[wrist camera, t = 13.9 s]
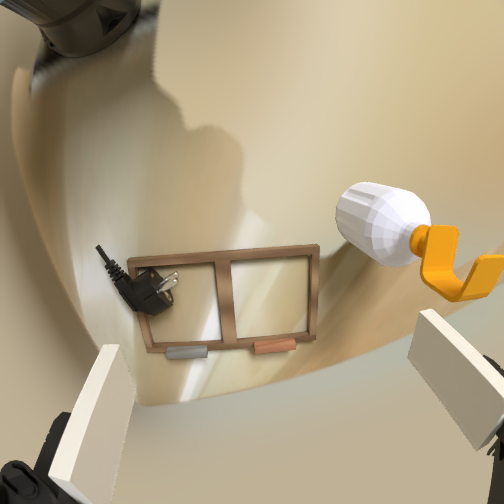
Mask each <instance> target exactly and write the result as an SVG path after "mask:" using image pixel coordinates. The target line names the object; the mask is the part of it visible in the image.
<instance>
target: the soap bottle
mask: <svg viewBox="0 0 504 504" xmlns="http://www.w3.org/2000/svg"><path fill="white" fill-rule="evenodd" d="M336 223H337V226H338V230H339V231H340V233H341V234H342V236H343V237H344V238H345V239H346V240H348V241H349V242H350V243H352V244H353V245H355V246H356V247H357V248H359V249H360V250H362V251H363V252H364V253H366V254H367V255H368V256H370V257H371V258H372V259H374V260H375V261H377V262H378V263H380V264H381V265H382V266H388V267H401V266H405V265H408V264H410V263H411V262H413V261H414V260H416V259H417V258H418V257H421V258H422V262H421V267H420V275H421V279H422V281H423V282H424V283H425V284H426V285H427V286H429V287H430V288H431V289H433V290H434V291H436V292H437V293H438V294H440V295H441V296H442V297H444V298H445V299H446V300H448V301H450V302H460V301H466V300H472V299H479V298H483V297H486V296H488V295H489V293H490V292H491V291H492V289H493V287H494V286H495V284H496V282H497V280H498V278H499V276H500V274H501V272H502V270H503V268H504V255H482V256H480V257H478V259H477V260H476V261H475V263H474V265H473V267H472V269H471V271H470V273H469V275H468V277H467V279H466V281H465V283H463V282H462V281H460V280H459V279H457V278H456V277H455V275H454V273H453V271H452V270H453V263H454V259H455V253H456V248H457V242H458V237H459V232H458V229H457V228H456V227H455V226H446V225H431V222H430V214H429V212H428V210H427V208H426V206H425V204H424V203H423V202H422V201H421V200H420V199H419V198H418V197H417V196H416V195H415V194H414V193H412V192H409V191H406V190H403V189H398V188H394V187H389V186H385V185H381V184H376V183H371V182H362V183H356V184H355V185H353V186H351V187H349V188H348V189H347V190H346V191H345V192H344V193H343V195H342V196H341V197H340V200H339V202H338V204H337V207H336Z"/></svg>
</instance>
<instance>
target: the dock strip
mask: <svg viewBox="0 0 504 504" xmlns="http://www.w3.org/2000/svg"><path fill="white" fill-rule="evenodd" d="M307 254H310V285H309V315H308V331H307V332H299V333H290V334H281V335H272V336H262V337H251V338H239V339H237V336H236V325H235V313H234V302H233V289H232V277H231V264H230V260H242V259H255V258H268V257H281V256H294V255H307ZM319 254H320V246H319V245H318V244H309V245H296V246H282V247H268V248H254V249H241V250H227V251H214V252H200V253H187V254H174V255H160V256H147V257H134V258H129V259H128V260H127V265H128V271H129V276H130V278H131V279H135V278H136V277H138V276H139V273H138V267H145V266H159V265H173V264H187V263H201V262H215V268H216V279H217V289H218V298H219V308H220V317H221V326H222V334H223V340H211V341H192V342H165V343H154V342H153V338H152V334H151V330H150V326H149V322H148V317H147V313H143V312H139V311H138V312H137V313H138V318H139V322H140V326H141V330H142V334H143V338H144V341H145V345H146V349H147V352H166V356H167V359H186V358H207V355H208V350H223V349H237V348H249V347H254V348H255V354H261V353H271V352H280V351H288V350H296V342H304V341H312V340H316V327H317V309H318V287H319Z"/></svg>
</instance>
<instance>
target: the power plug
mask: <svg viewBox="0 0 504 504" xmlns="http://www.w3.org/2000/svg"><path fill="white" fill-rule="evenodd" d="M95 248H96V249H97V251H98V252H99V254H100V255H101V257H102V258H103V259H104V261H105V262H106V265H105V268H106V270H108V269H109V271H108V274H110V278H111V277H113V278H112V281H115V282H114V285H115V286H116V288H117V289H118V290H119V293H120V295H121V296H122V297H123V299H124V300H125V301H126V302H127V304H128V305H129V306H130V307H131V309H132V310H133V311H135V312H138V311H139V312H143V313H147V314H151V315H153V316H156V315H158V314H159V313H161V312H163V311H164V310H166V309H168V308H169V307H171V306H172V305H173V304H172V303H173V297H172V294H171V291H170V288H171V287H173V286H174V285H176V284H177V283H178V280H177V279H176V278H177V277H178V276H179V273H178V272H177V271H176V272H174V273H172V274H171V275H169V276H168V277H166V278H164V279H163V278H162V277H160V275H159V274H158V272H157V271H155V270H154V269H152V268H150V269H148V270H147V271H145V272H144V273H142V274H141V275H139V276H138V277H136V278H135V279H131V278H130V277H129V275H128V274H127V273H126V272H125V273H123V272H124V270H121V267H118V264H116V265H114V264H115V263H116V262H115V261H114V260H111V261H110V259H109V258H108V257H107V255H106V254H105V252H104V251H103V249H102V248H101V246H100V245H98V246H97V247H95ZM120 270H121V271H120Z"/></svg>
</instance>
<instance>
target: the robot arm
mask: <svg viewBox="0 0 504 504" xmlns="http://www.w3.org/2000/svg"><path fill="white" fill-rule="evenodd" d="M140 4H141V0H0V5H2V6H4V7H6V8H8V9H9V10H12V11H13V12H15V13H17V14H19V15H20V16H22V17H24V18H26V19H27V20H29V21H31V22H32V23H34V24H36V25H37V26H38V28H39V30H40V32H41V34H42V36H43V39H44V41H45V42H46V44H47V45H48V46H49V47H50V48H51V49H52V50H53V51H55V52H57V53H59V54H61V55H63V56H66V57H82V56H86V55H90V54H92V53H95V52H97V51H99V50H101V49H103V48H105V47H106V46H108V45H109V44H111V43H112V42H114V41H115V40H116V39H117V38H119V37H120V36H121V35H122V34H123V33H124V32H125V31H126V30H127V28H128V27H129V26H130V25H131V23H132V22H133V20H134V19H135V17H136V15H137V13H138V11H139V8H140ZM407 358H408V359H409V360H410V362H411V363H412V365H413V366H414V367H415V368H416V370H417V371H418V372H419V374H420V375H421V376H422V377H423V379H424V380H425V381H426V383H427V384H428V385H429V387H430V388H431V389H432V391H433V392H434V393H435V395H436V396H437V397H438V399H439V400H440V401H441V403H442V404H443V405H444V407H445V408H446V409H447V411H448V412H449V413H450V415H451V416H452V418H453V419H454V421H455V422H456V423H457V425H458V426H459V428H460V429H461V430H462V432H463V433H464V435H465V436H466V438H467V439H468V440H469V442H470V443H471V445H472V446H473V448H474V449H475V450H476V451H478V450H479V449H481V448H482V447H484V446H485V445H487V444H488V443H489V442H490V441H491V440H492V438H493V437H494V436H495V434H496V435H497V436H498V439H497V440H496V442H495V443H494V444H493V446H492V447H491V448H490V449H489V451H488V453H487V455H490V453H491V452H492V451H493V450H494V449H495V451H494V453H493V454H492V456H494V464H493V472H492V479H491V486H490V492H489V497H488V503H487V504H504V370H503V369H501V368H500V366H499V365H498V364H497V363H496V362H495V361H494V360H492V359H491V358H489V357H487V356H485V355H483V356H482V355H481V354H480V353H478V351H476V350H475V348H473V347H472V346H471V345H470V344H469V343H468V342H467V341H466V340H465V339H464V338H463V337H462V336H461V335H460V334H459V333H458V332H457V331H456V330H454V329H453V328H452V327H451V326H450V325H449V324H448V323H447V322H446V321H445V320H444V319H443V318H441V317H440V316H439V315H438V314H437V313H436V312H435V311H434V310H432V309H428V310H424V311H419V315H418V320H417V324H416V328H415V332H414V335H413V339H412V343H411V347H410V350H409V353H408V357H407ZM136 393H137V390H136V387H135V385H134V382H133V380H132V377H131V374H130V372H129V369H128V366H127V364H126V361H125V358H124V355H123V352H122V349H121V346H120V344H104V345H103V347H102V349H101V351H100V353H99V355H98V357H97V359H96V361H95V363H94V365H93V367H92V369H91V372H90V374H89V376H88V378H87V380H86V382H85V385H84V386H83V389H82V391H81V393H80V395H79V398H78V400H77V402H76V405H75V407H74V409H73V411H72V413H68V412H62V413H61V414H60V415H59V416H58V417H57V418H56V419H55V420H54V421H53V424H52V426H51V428H50V430H49V432H50V433H49V434H48V435H47V438H46V442H44V445H43V447H42V450H41V452H40V455H39V457H38V459H37V462H36V465H35V467H34V470H32V469H31V468H30V467H29V466H28V465H27V464H25V463H24V462H22V461H18V460H14V461H10V462H8V463H7V464H5V465H4V466H3V468H2V469H1V472H0V504H112V498H113V493H114V488H115V483H116V478H117V472H118V468H119V463H120V458H121V453H122V450H123V445H124V441H125V437H126V432H127V428H128V424H129V420H130V416H131V412H132V408H133V404H134V401H135V397H136Z"/></svg>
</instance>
